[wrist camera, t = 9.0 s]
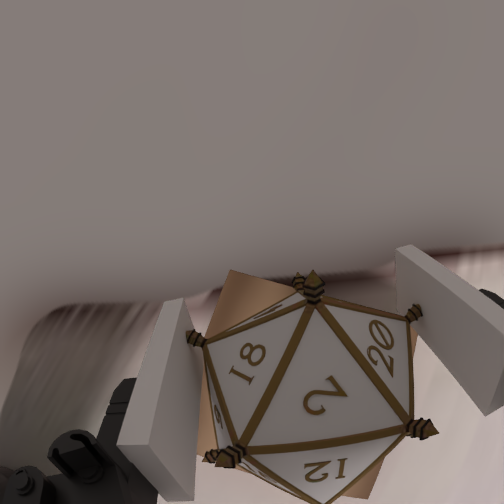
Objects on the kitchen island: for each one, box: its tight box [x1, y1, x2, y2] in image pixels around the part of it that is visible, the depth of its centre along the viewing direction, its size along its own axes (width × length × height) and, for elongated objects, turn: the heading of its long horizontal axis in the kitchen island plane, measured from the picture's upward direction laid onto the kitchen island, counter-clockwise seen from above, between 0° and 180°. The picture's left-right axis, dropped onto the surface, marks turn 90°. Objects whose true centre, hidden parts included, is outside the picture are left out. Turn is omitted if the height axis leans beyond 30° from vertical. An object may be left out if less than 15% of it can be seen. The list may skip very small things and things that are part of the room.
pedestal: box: [197, 270, 418, 499], centre depth 19 cm, size 13×12×3 cm
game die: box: [185, 270, 439, 504], centre depth 10 cm, size 9×8×10 cm
